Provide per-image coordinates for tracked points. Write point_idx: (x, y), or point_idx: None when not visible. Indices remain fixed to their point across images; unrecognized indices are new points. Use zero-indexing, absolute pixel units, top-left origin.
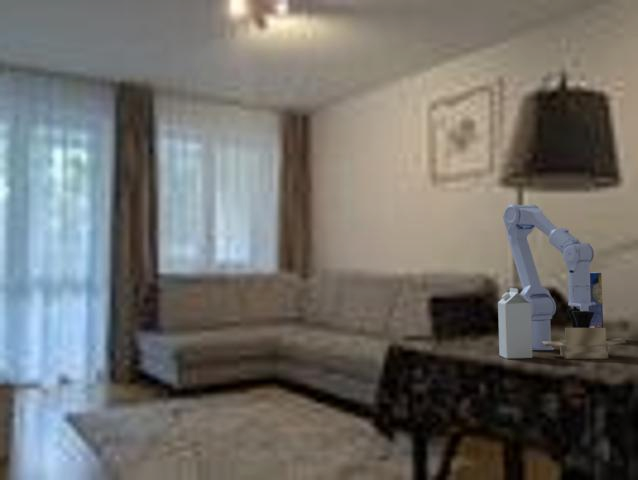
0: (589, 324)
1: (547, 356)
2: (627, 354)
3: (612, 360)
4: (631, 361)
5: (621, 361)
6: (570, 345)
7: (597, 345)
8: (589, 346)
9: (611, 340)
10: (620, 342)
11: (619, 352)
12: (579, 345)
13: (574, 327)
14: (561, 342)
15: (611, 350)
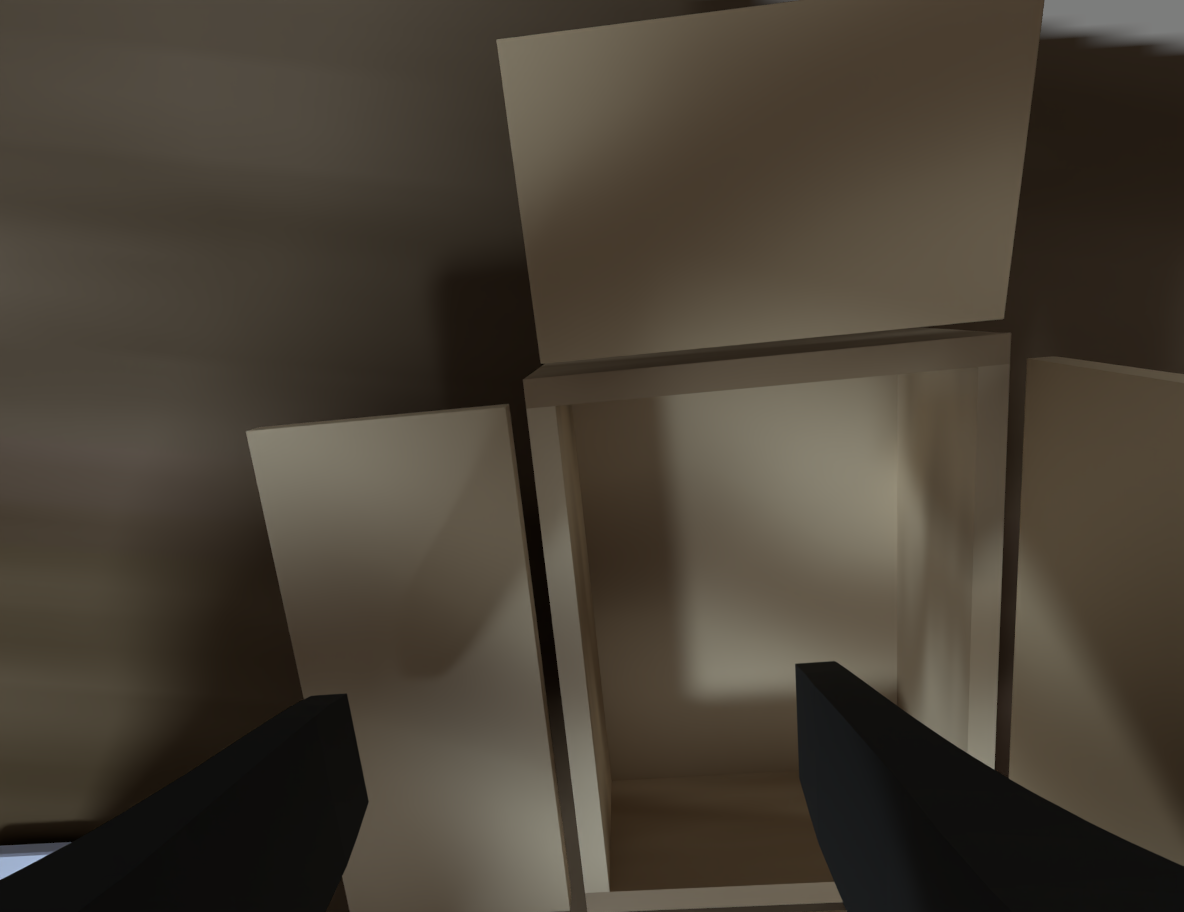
0: (1038, 797)
1: (721, 907)
2: (410, 22)
3: (1024, 286)
4: (1121, 50)
5: (1118, 183)
6: (599, 771)
7: (564, 438)
8: (997, 592)
9: (655, 228)
10: (1030, 96)
11: (219, 111)
12: (590, 668)
13: (309, 909)
14: (602, 899)
15: (35, 197)
